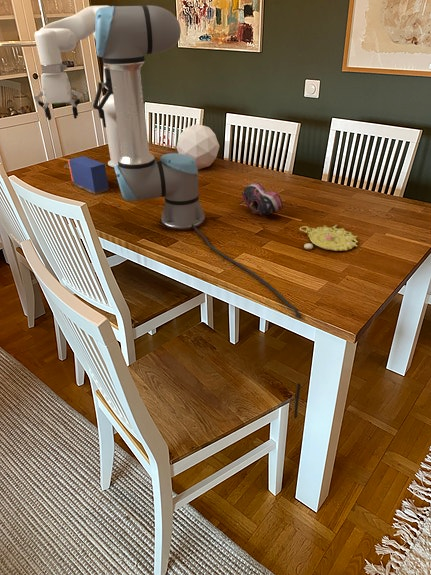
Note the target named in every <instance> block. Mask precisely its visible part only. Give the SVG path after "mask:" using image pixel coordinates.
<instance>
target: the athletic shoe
mask: <svg viewBox="0 0 431 575" xmlns="http://www.w3.org/2000/svg"><path fill="white" fill-rule="evenodd" d="M241 197H242V199H243V201H238V203H239V204H241V205H245V206H246V207H247V208H248V210H249V211H250V210H251V213H252V214H255V215H260V217H266V216H267V215H270V214H274V213H275V212H279V211H282V210H283V209H284V205H283V201H282V198H281V196H280V195H279V194H278V192H277V191H274V190H269V191H267V190H266V189H265V187H264V186H263V185H262V184H261V183H258V182H251V183H249V184H247V186H246V187H245V188H244V190H243V191H242V192H241Z"/></svg>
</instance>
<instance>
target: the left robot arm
mask: <svg viewBox="0 0 431 575" xmlns="http://www.w3.org/2000/svg"><path fill="white" fill-rule="evenodd" d="M102 7H110V5H107V4H106V5H89V6H87V7H85V8H83V9H81V10H80V11H78V12H76V13H75V14H73V15H70V16H67V17H64V18H62V19H59V20H55V21H52V22H50V23H47V24H45V25H44V26H42V27H41V28H39V30H36V31H35V32H34V40H35V44H36V45H35V46H36V50H37V54H38V58H39V63H40V68H41V72H42V73H41V74H40V81H41V91H40V92H39V93H37V94H36V95H34V97H33V98H34V100H35V101H36V103H37V104H38V106H40V107H41V108H42V109H43V110H44V113H45V117H46V118H47V120H48V121H51V120H52V115H51V114H52V113H51V110H50V107H49V105H51V104H66V103H69V104H70V105H71V106H72V109H71V110H72V115H73V118H74V119H77V117H78V116H79V112H78V105H79V104H80V102H81V100H82V96H83V94H82V93H81V92H78V91H76V90H74V89H72V86H71V82H70V78H69V75H68V74H67V72H65V70H68V65H67V64H66V65H65V64H64V63H63V60H62V59H63V58H62V55H61V54H62V53H69V52H71V51H74V50H75V48H76V47H77V42H79V41H83V40H86V39H88V38H89V37H90V36H91V35H93V38H94V40H95V41H96V36H95V15H96V11H97V10H98V9H99V8H102ZM105 68H106V67H104V66H103V83H105V82H106V78H105V71H104V69H105ZM104 88H105V89H106V91H107V90H108V88H107V87H106V86H104ZM74 96H76V97H77V98H76V100H74ZM104 96H105V94H104V95H103V96H101V97H100V99H99V103H100V102H101V101H102V99H103V97H104ZM42 97H43V101H42V100H41V99H40V98H42ZM102 109H103V110H104V115H105V122H106V128H105V132H106V139H107V146H108V152H109V157H110V160H108V161H107V165H108V167H111V168H114V166H116V165H118V158H119V157H120V156H121V154H122V153H121V146H120V138H119V131H118V124H117V117H116V110H115V103H114V96H113V93H111V95H110V96H109V98H108V100H107V101H106V103H105V104H104V106H103V108H102Z"/></svg>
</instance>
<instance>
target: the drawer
mask: <svg viewBox="0 0 431 575" xmlns="http://www.w3.org/2000/svg"><path fill="white" fill-rule="evenodd" d="M67 162H68V163H67V164H64V165H63V168H64V169H67V170H69V173H70V177H71V181H72V182H73V183H74V179H73V175H72V170H71V165H70V160H69V159H67Z"/></svg>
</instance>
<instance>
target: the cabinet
mask: <svg viewBox="0 0 431 575" xmlns="http://www.w3.org/2000/svg"><path fill="white" fill-rule="evenodd" d="M68 160H70V165H71V170H72V175H73V179H74V182H73V184H74V186H75V187H77V188H80V189H82V190H85V191H87V192H89V193H92V194H94V195H99V194H101V193H105V192H108V191H110V188H109V182H108V175H107V169H106V164H105V163H103V162H100V161H98V160H95V159H92V158H89V157H87V156H85V155H82V156H78V157H74V158H69V159H68Z"/></svg>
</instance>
